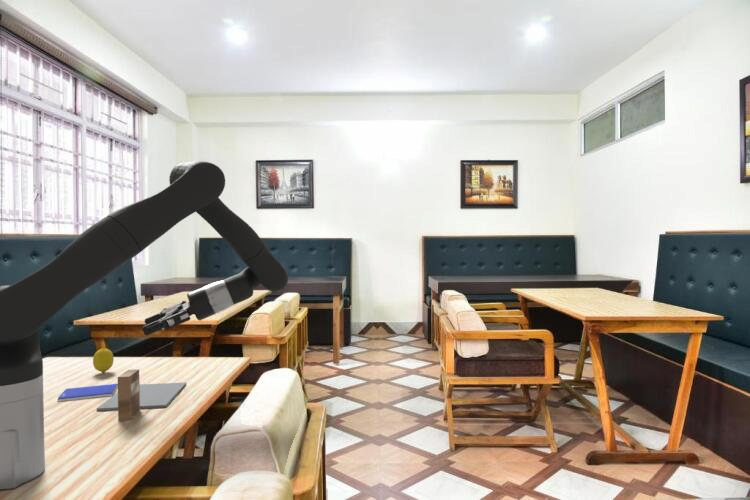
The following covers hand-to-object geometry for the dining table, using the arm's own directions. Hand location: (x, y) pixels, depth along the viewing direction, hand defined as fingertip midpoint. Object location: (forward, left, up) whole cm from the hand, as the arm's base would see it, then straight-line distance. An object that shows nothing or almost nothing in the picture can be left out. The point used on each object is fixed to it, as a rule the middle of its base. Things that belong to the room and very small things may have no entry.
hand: (144, 327), depth 109 cm
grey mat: (+11, +4, -20) cm, 23 cm away
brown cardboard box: (-2, +3, -20) cm, 21 cm away
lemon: (+36, +25, -21) cm, 48 cm away
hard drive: (+16, +20, -21) cm, 33 cm away
